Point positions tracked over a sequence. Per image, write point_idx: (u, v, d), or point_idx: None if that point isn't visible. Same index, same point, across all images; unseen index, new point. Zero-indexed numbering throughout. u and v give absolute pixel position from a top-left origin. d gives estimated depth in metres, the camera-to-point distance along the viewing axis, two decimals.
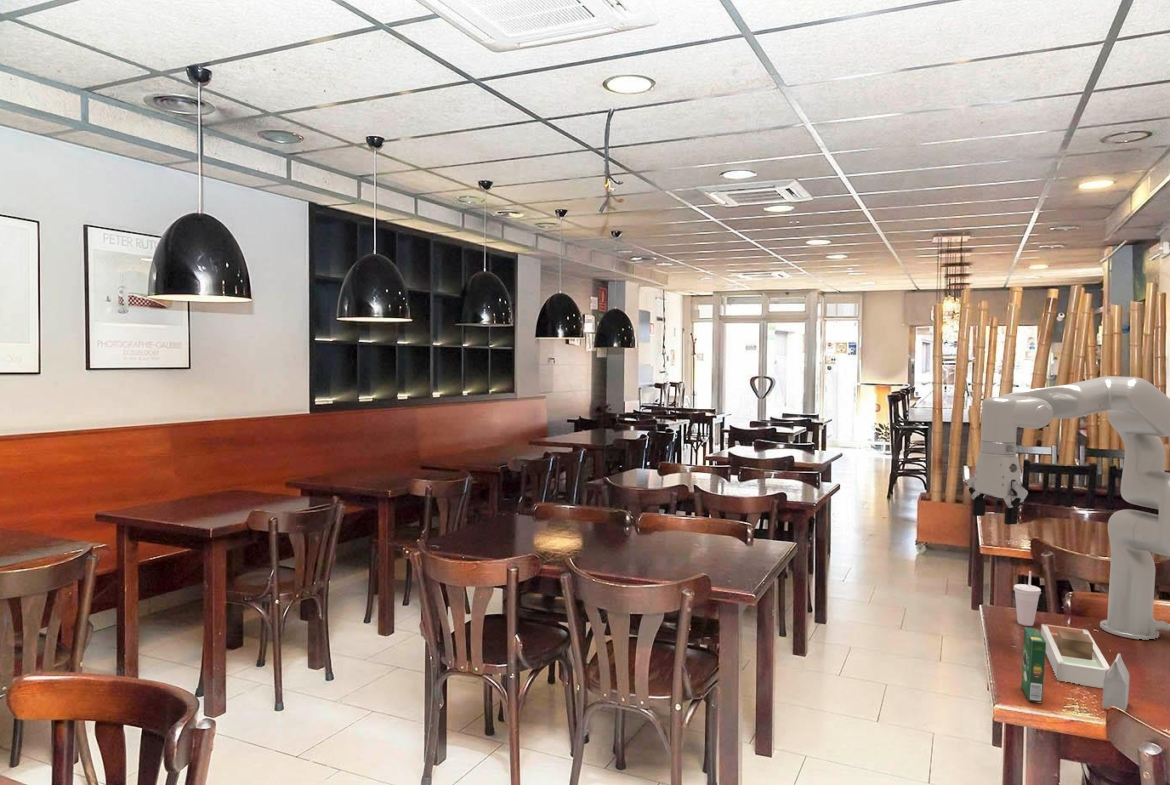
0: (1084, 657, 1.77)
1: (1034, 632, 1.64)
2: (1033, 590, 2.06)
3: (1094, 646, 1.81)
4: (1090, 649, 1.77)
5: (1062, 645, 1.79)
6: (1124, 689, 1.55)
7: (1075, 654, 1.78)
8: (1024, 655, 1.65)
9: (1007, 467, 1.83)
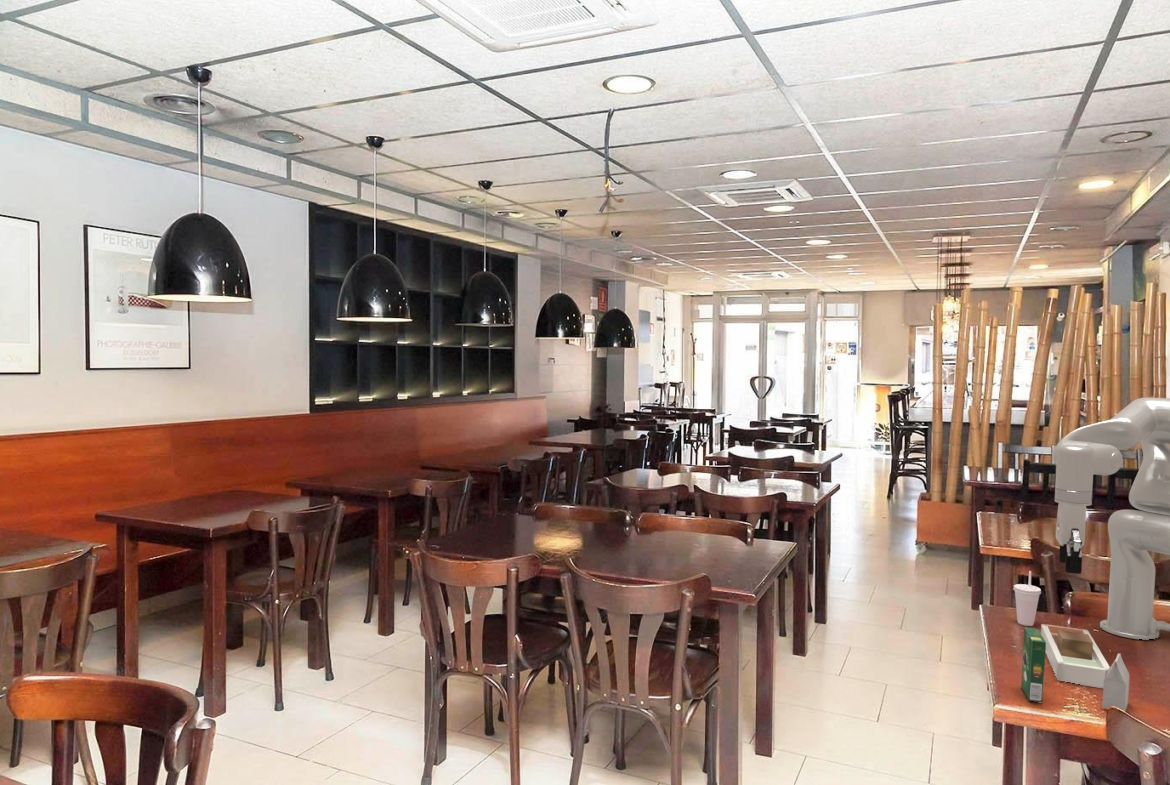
0: (1084, 657, 1.77)
1: (1034, 632, 1.64)
2: (1033, 590, 2.06)
3: (1094, 646, 1.81)
4: (1090, 649, 1.77)
5: (1062, 645, 1.79)
6: (1124, 689, 1.55)
7: (1075, 654, 1.78)
8: (1024, 655, 1.65)
9: None
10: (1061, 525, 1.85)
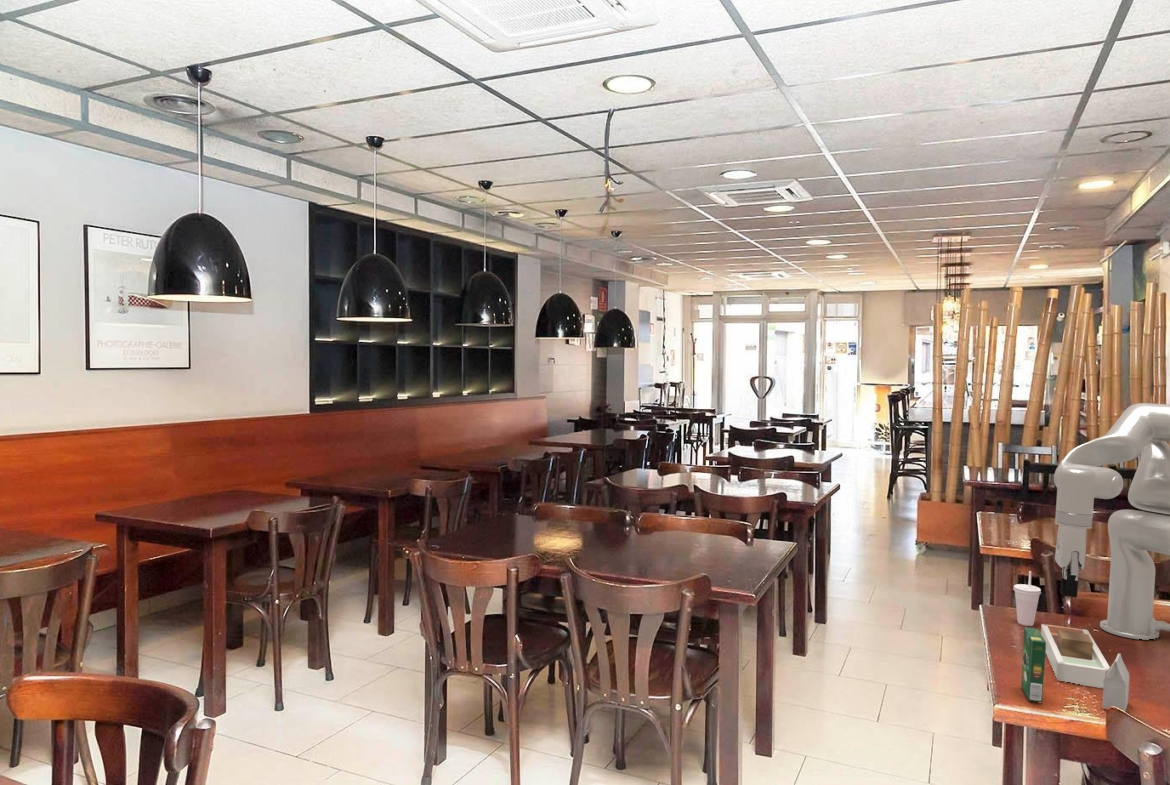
0: (1084, 657, 1.77)
1: (1034, 632, 1.64)
2: (1033, 590, 2.06)
3: (1094, 646, 1.81)
4: (1090, 649, 1.77)
5: (1062, 645, 1.79)
6: (1124, 689, 1.55)
7: (1075, 654, 1.78)
8: (1024, 655, 1.65)
9: None
10: (1061, 547, 1.85)
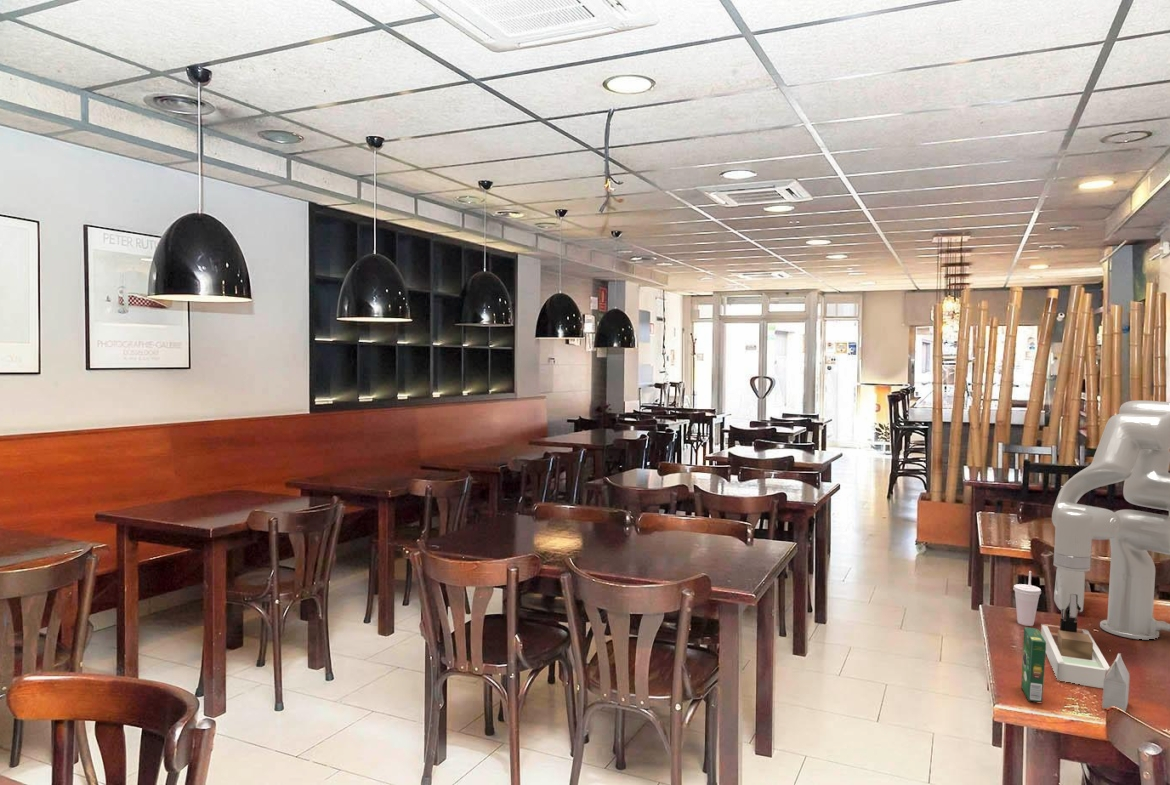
0: (1084, 657, 1.77)
1: (1034, 632, 1.64)
2: (1033, 590, 2.06)
3: (1094, 646, 1.81)
4: (1090, 649, 1.77)
5: (1062, 645, 1.79)
6: (1124, 689, 1.55)
7: (1075, 654, 1.78)
8: (1024, 655, 1.65)
9: None
10: (1060, 590, 1.86)
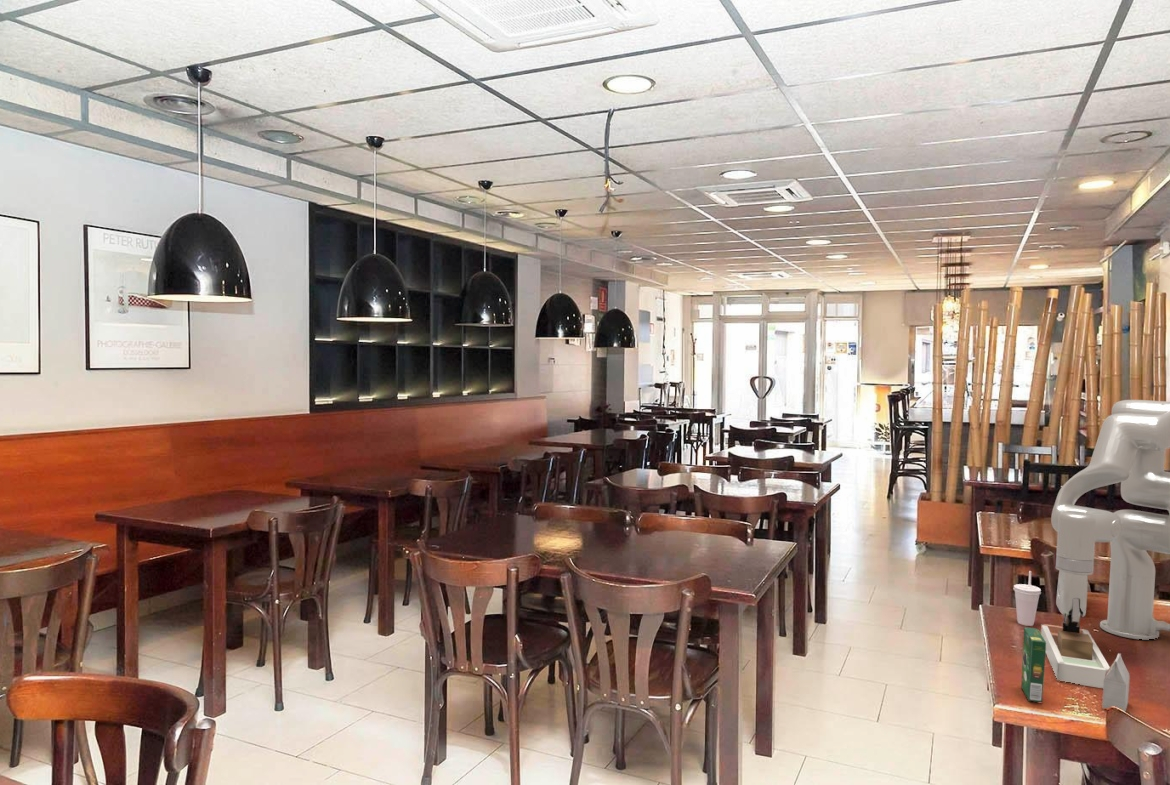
0: (1084, 657, 1.77)
1: (1034, 632, 1.64)
2: (1033, 590, 2.06)
3: (1094, 646, 1.81)
4: (1090, 649, 1.77)
5: (1062, 645, 1.79)
6: (1124, 689, 1.55)
7: (1075, 654, 1.78)
8: (1024, 655, 1.65)
9: None
10: (1062, 594, 1.82)
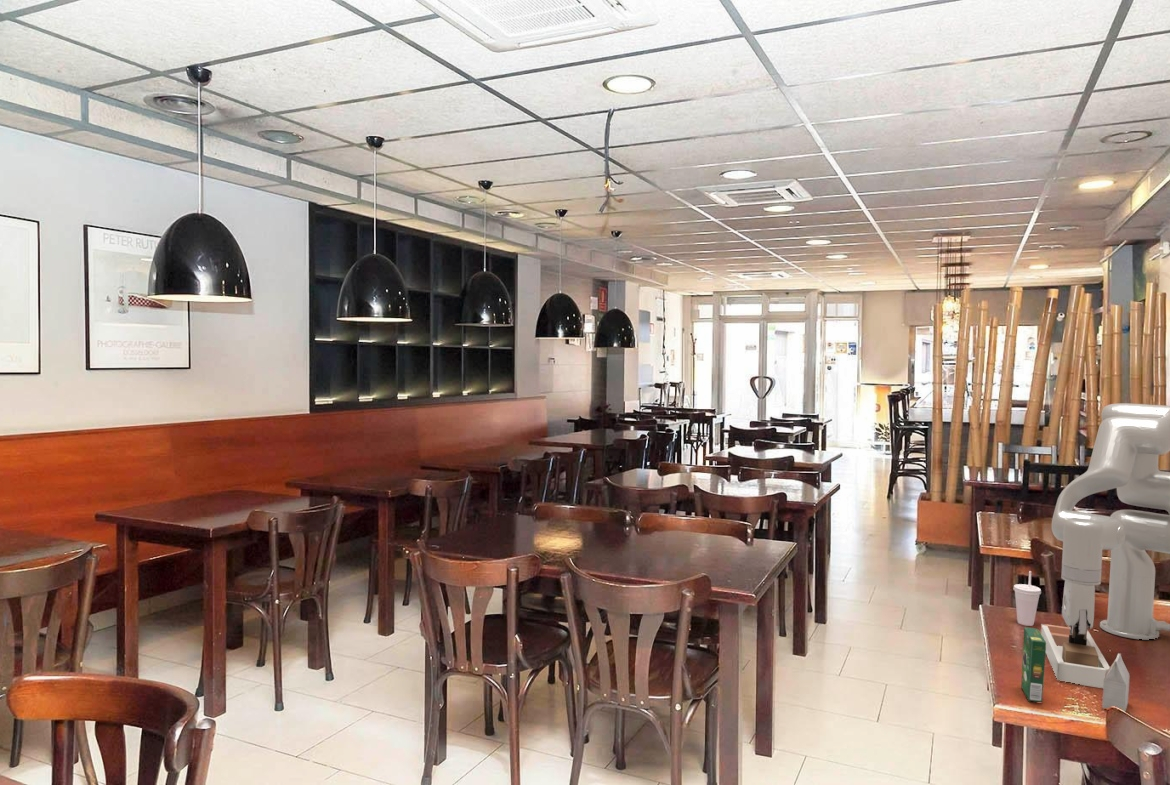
0: None
1: (1034, 632, 1.64)
2: (1033, 590, 2.06)
3: (1094, 646, 1.81)
4: (1095, 662, 1.69)
5: (1066, 658, 1.71)
6: (1124, 689, 1.55)
7: None
8: (1024, 655, 1.65)
9: None
10: (1068, 605, 1.74)
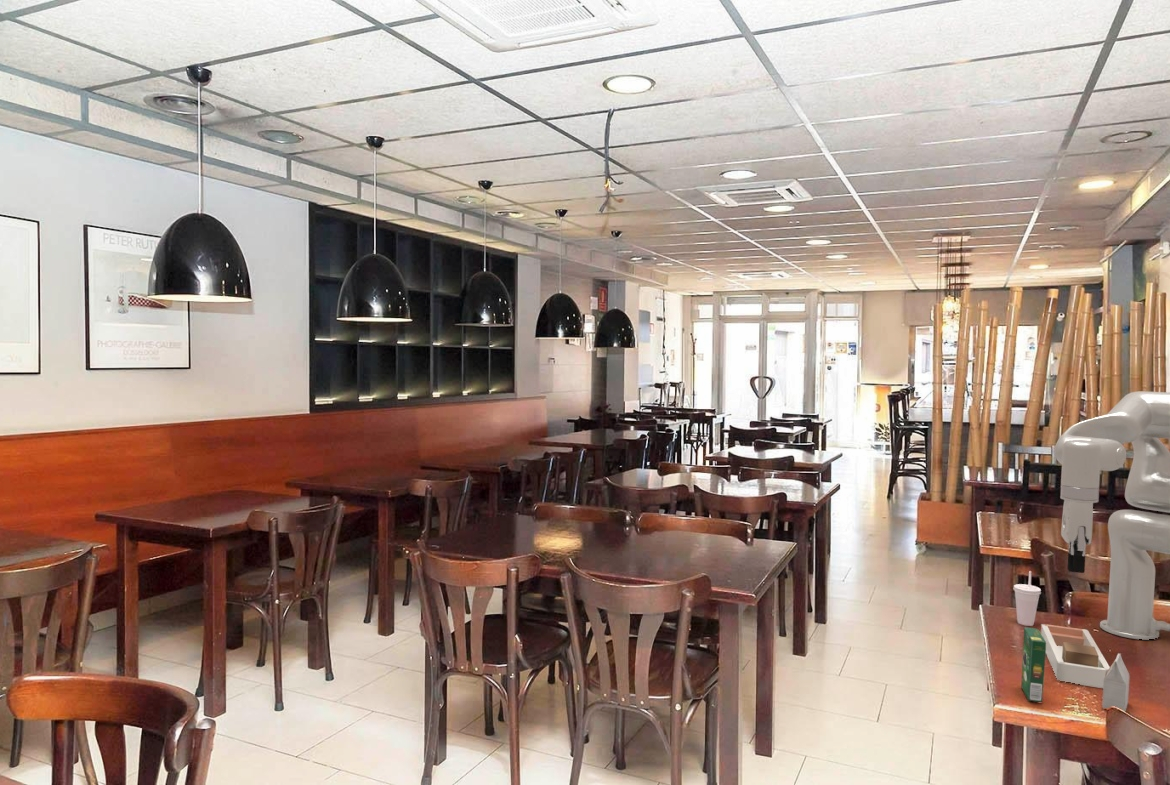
0: None
1: (1034, 632, 1.64)
2: (1033, 590, 2.06)
3: (1094, 646, 1.81)
4: (1095, 662, 1.69)
5: (1066, 658, 1.71)
6: (1124, 689, 1.55)
7: None
8: (1024, 655, 1.65)
9: None
10: (1067, 523, 1.80)
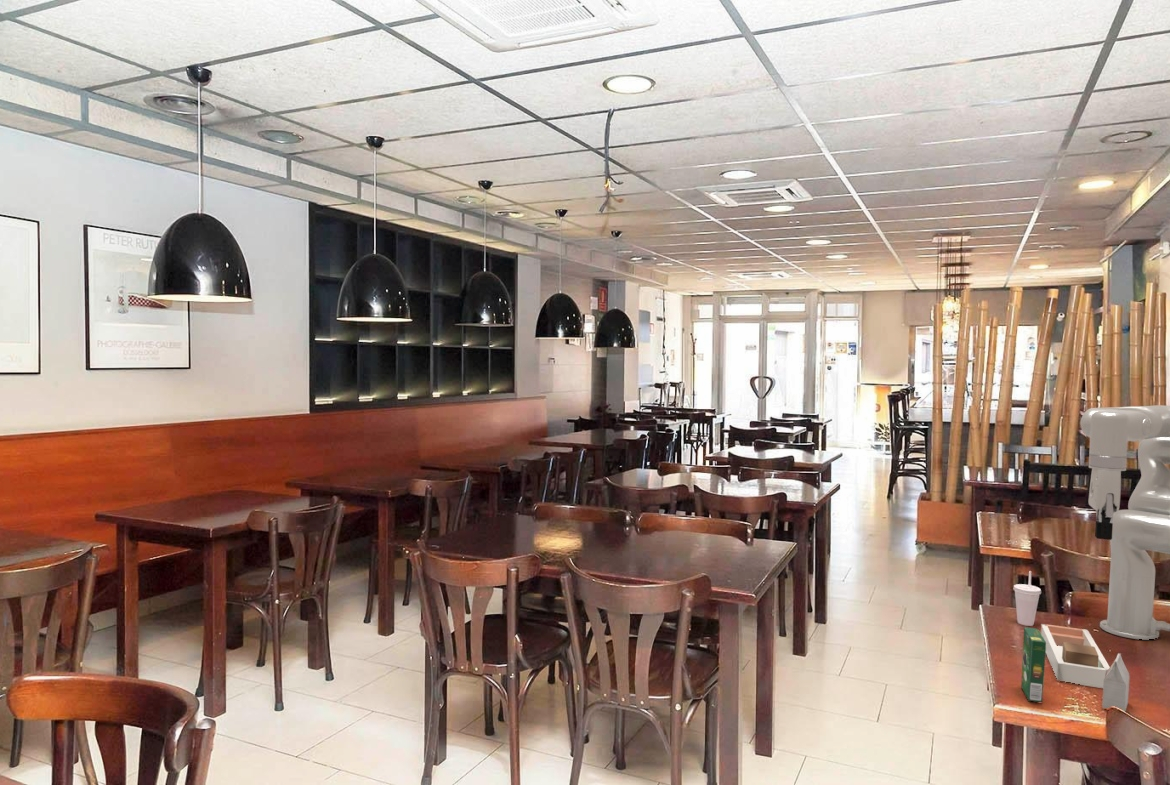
0: None
1: (1034, 632, 1.64)
2: (1033, 590, 2.06)
3: (1094, 646, 1.81)
4: (1095, 662, 1.69)
5: (1066, 658, 1.71)
6: (1124, 689, 1.55)
7: None
8: (1024, 655, 1.65)
9: None
10: (1096, 490, 1.86)
